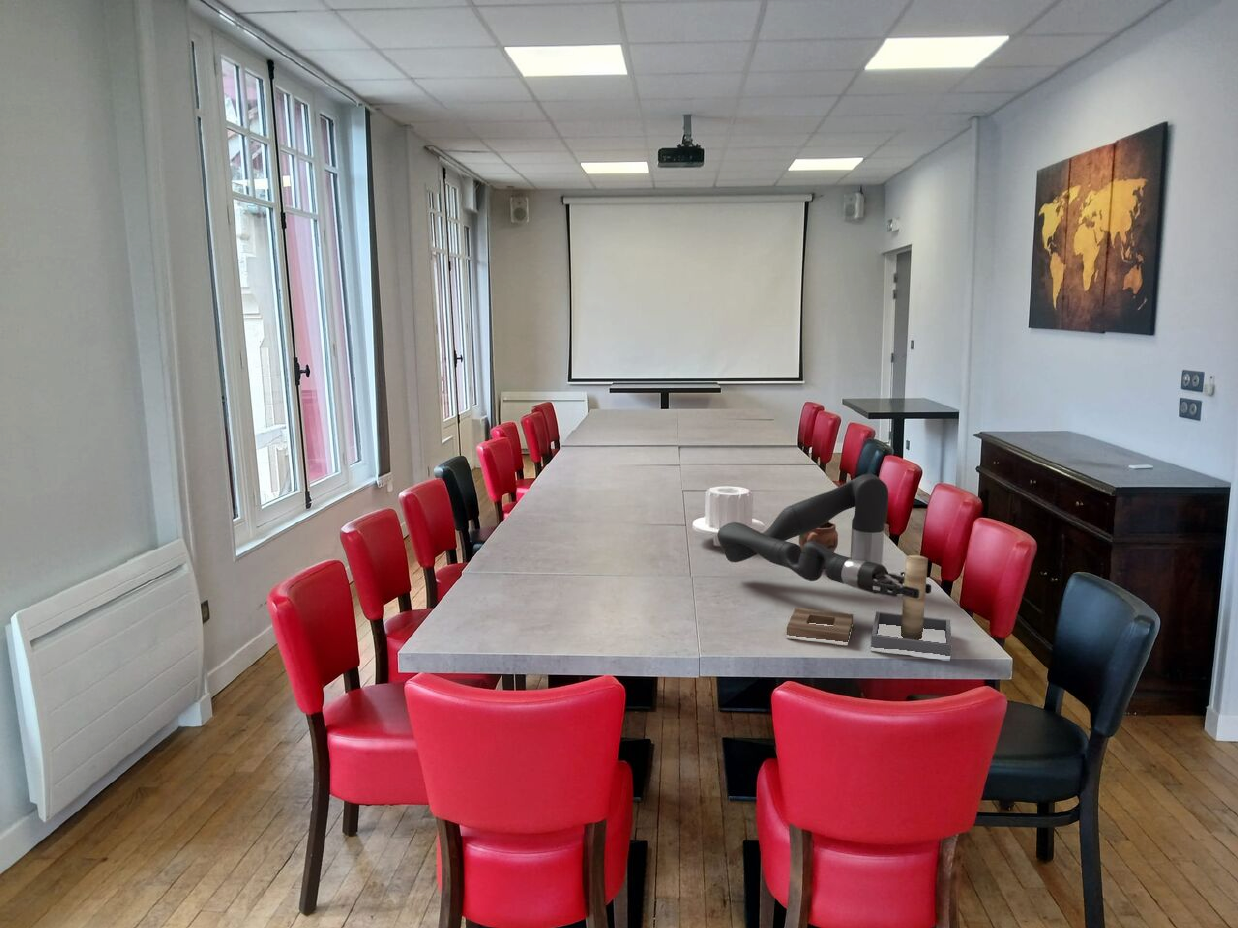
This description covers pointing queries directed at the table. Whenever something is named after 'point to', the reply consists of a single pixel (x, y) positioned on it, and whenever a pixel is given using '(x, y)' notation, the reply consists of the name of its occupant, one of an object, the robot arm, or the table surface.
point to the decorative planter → (821, 536)
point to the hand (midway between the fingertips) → (924, 591)
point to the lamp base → (726, 510)
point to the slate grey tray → (911, 644)
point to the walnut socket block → (803, 629)
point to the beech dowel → (914, 606)
